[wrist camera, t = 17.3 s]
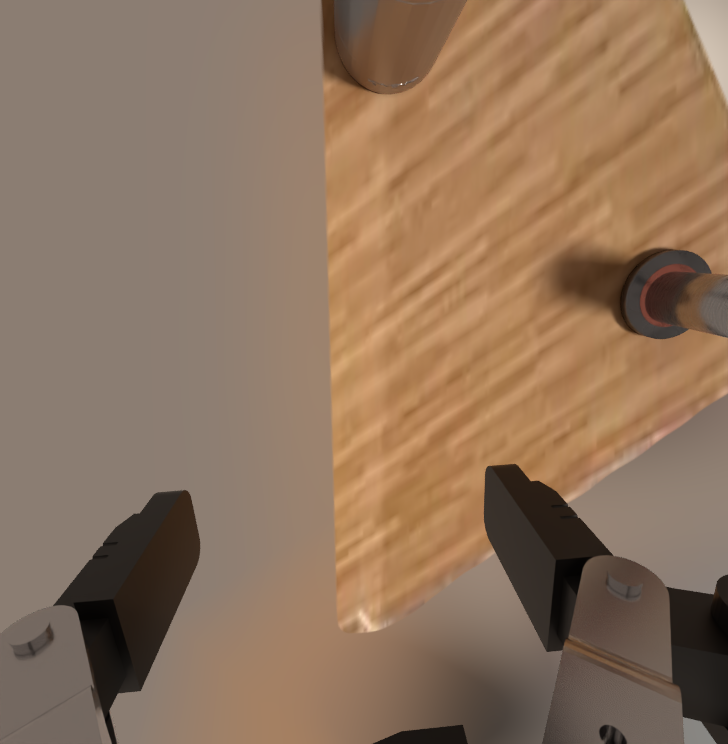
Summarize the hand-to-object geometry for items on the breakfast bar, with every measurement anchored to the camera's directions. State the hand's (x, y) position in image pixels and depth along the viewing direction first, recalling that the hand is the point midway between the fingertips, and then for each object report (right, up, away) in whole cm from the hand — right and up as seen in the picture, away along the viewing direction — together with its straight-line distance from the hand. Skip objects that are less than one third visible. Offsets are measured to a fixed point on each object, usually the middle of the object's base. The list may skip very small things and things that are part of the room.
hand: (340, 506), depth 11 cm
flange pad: (+32, +12, +32) cm, 47 cm away
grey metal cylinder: (+32, +11, +31) cm, 46 cm away
